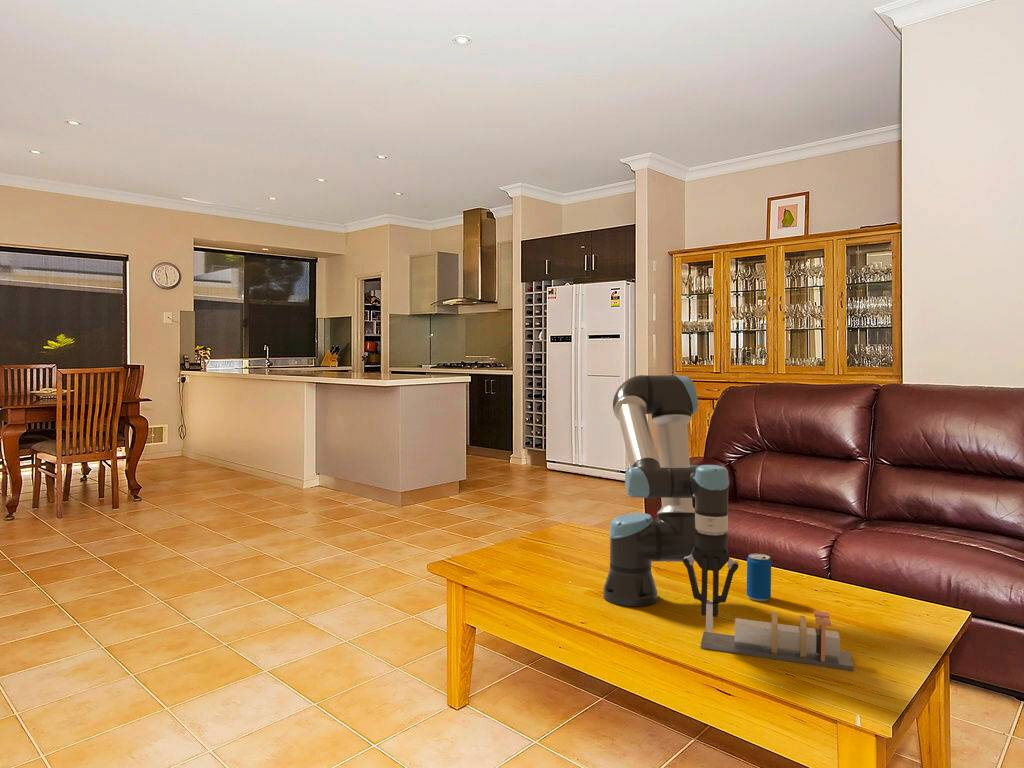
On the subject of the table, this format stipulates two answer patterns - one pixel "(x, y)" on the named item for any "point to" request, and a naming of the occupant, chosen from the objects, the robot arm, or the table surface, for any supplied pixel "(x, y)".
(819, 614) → the aperture gantry
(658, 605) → the table surface
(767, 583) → the beverage can
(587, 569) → the table surface
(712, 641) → the rail
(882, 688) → the table surface
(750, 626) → the pale grey bar
